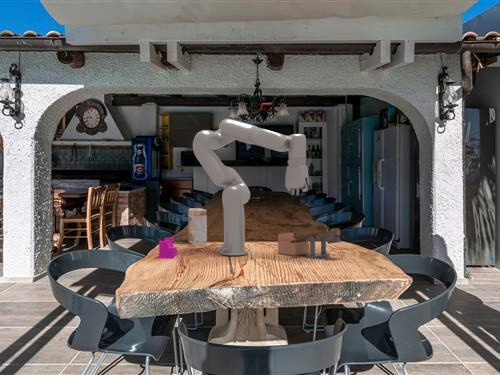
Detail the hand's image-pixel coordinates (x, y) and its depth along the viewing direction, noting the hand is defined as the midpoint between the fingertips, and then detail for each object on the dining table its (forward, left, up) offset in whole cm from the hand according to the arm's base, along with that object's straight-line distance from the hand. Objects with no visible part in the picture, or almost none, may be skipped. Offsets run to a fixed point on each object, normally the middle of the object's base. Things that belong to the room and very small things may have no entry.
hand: (297, 204), depth 206 cm
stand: (+6, -6, -23) cm, 25 cm away
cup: (+6, +8, -23) cm, 25 cm away
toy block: (-36, +45, -24) cm, 63 cm away
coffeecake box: (-9, +60, -23) cm, 65 cm away
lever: (+6, -6, -15) cm, 17 cm away
